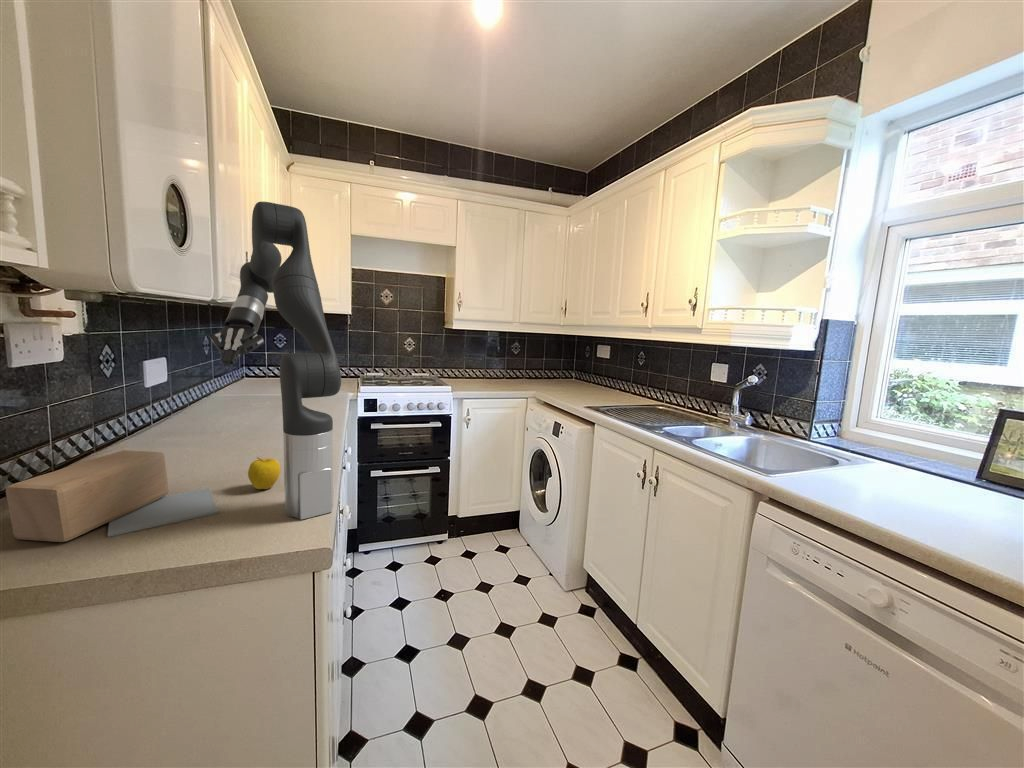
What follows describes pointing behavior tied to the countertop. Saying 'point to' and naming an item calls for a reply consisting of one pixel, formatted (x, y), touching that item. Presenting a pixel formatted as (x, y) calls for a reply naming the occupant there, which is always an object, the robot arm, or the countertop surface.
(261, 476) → the apple
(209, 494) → the mat
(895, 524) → the countertop surface
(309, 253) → the robot arm
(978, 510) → the countertop surface
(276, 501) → the countertop surface
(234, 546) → the countertop surface
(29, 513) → the block
